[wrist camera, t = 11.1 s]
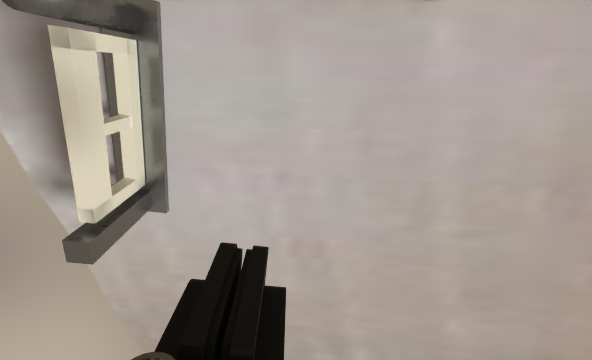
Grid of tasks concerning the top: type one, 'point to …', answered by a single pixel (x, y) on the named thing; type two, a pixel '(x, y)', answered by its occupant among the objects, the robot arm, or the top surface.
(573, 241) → the top surface
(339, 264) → the top surface
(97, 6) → the gate frame
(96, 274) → the top surface
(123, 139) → the gate
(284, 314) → the robot arm
